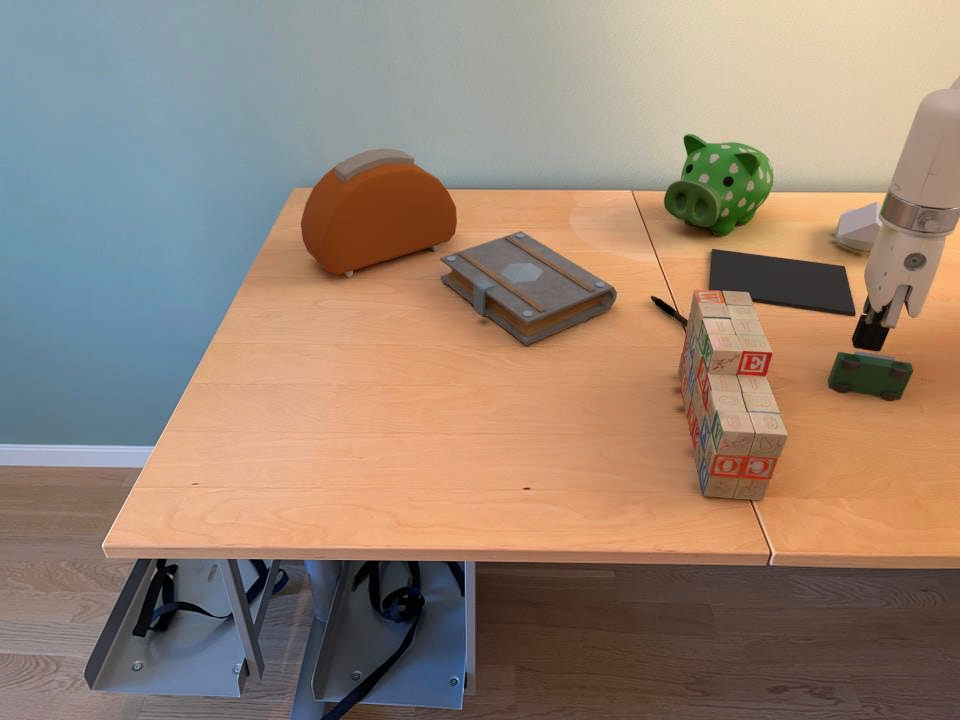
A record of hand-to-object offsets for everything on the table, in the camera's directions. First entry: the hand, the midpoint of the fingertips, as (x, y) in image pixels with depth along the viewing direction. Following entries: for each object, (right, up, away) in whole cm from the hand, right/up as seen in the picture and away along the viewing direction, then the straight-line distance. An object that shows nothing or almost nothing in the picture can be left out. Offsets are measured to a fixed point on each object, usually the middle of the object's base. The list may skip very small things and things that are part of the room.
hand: (865, 346), depth 87 cm
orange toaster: (-64, +15, +26) cm, 71 cm away
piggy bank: (-7, +22, +35) cm, 42 cm away
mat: (-3, +10, +19) cm, 21 cm away
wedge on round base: (+15, +17, +29) cm, 37 cm away
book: (-42, +8, +16) cm, 45 cm away
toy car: (-1, -5, -2) cm, 6 cm away
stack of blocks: (-21, -10, -8) cm, 25 cm away
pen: (-20, +3, +9) cm, 22 cm away
